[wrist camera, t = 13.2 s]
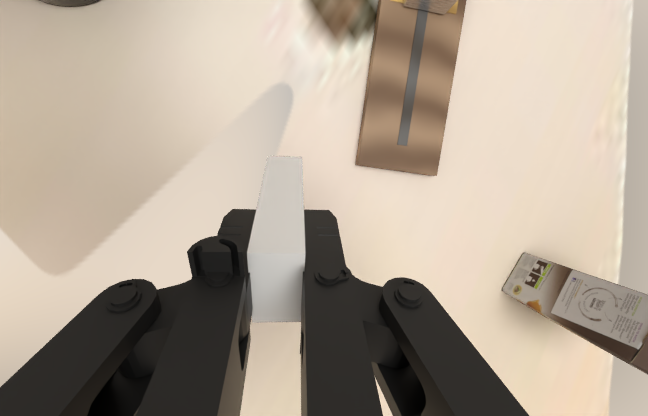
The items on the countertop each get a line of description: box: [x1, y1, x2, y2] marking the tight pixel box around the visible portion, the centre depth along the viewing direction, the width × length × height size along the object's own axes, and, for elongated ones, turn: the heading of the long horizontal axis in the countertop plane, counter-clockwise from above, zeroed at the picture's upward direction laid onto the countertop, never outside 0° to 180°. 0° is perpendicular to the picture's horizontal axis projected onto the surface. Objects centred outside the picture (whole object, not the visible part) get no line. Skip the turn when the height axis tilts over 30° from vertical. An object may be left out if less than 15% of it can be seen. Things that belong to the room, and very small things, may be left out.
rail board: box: [355, 0, 466, 176], centre depth 36 cm, size 28×10×2 cm, turn 172°
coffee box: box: [502, 253, 648, 374], centre depth 34 cm, size 9×6×16 cm
